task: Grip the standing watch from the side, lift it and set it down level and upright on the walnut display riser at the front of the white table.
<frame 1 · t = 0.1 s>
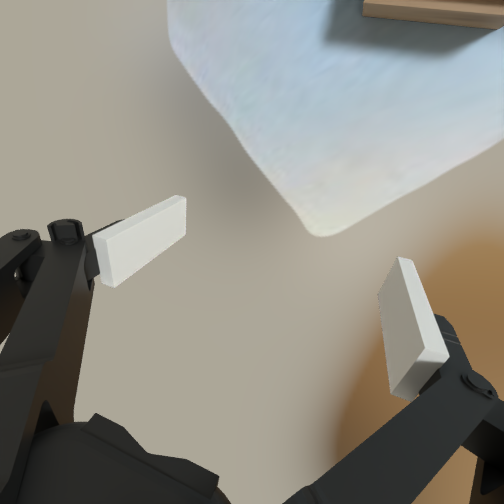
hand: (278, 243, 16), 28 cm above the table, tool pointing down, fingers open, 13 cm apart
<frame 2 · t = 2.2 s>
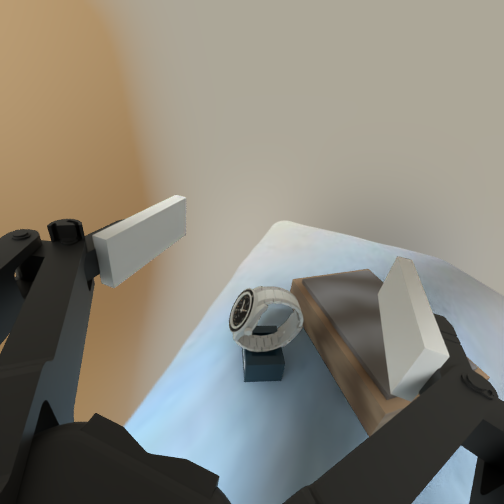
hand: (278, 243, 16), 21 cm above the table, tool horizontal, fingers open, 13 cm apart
riser: (363, 343, 36), on the table
watch: (259, 361, 33), on the table
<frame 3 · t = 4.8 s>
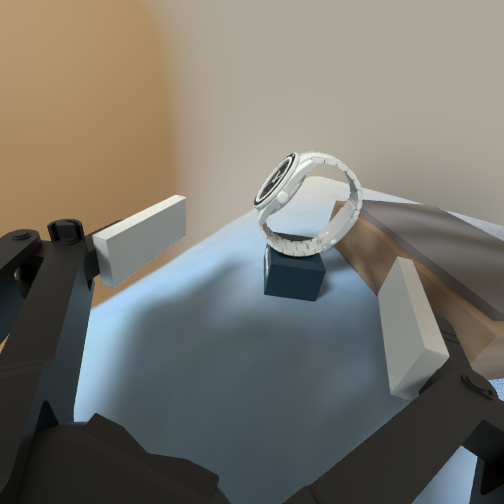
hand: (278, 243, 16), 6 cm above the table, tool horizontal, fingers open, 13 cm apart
riser: (427, 284, 27), on the table
watch: (285, 279, 24), on the table
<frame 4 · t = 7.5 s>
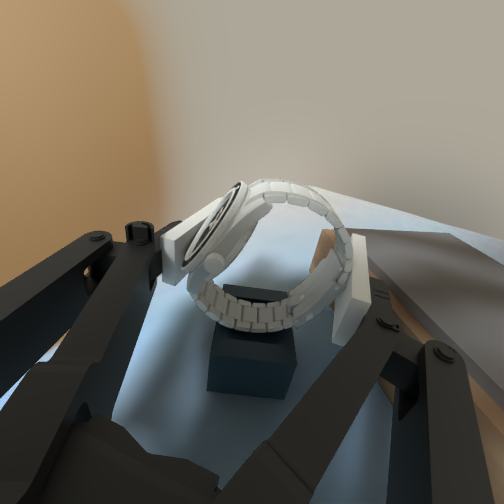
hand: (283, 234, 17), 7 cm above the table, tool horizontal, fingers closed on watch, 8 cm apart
riser: (444, 350, 19), on the table
watch: (245, 355, 17), on the table, touching gripper
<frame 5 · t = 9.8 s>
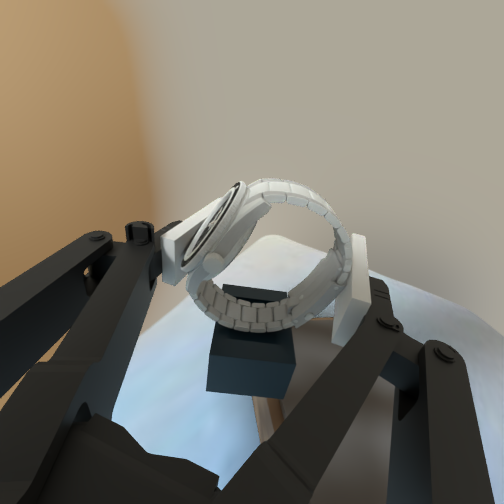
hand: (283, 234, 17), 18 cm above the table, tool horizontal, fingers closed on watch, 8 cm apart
riser: (333, 434, 24), on the table
watch: (245, 355, 17), point 11 cm above the table, touching gripper
when the fingers open (13 cm above the table, at t = 12.1 s): watch drops 1 cm, resting on riser.
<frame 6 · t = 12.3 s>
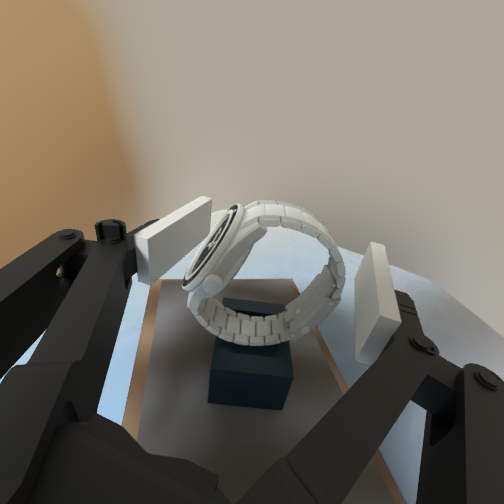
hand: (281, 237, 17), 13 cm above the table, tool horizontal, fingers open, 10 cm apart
riser: (234, 407, 20), on the table
watch: (245, 366, 17), point 5 cm above the table, touching riser
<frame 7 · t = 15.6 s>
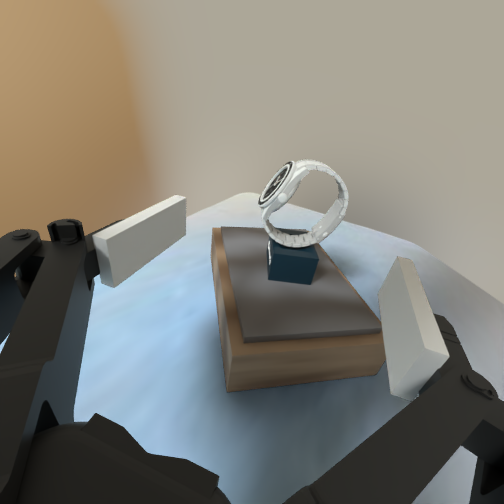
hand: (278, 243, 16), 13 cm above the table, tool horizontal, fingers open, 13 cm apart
riser: (275, 302, 31), on the table
watch: (285, 268, 28), point 5 cm above the table, touching riser
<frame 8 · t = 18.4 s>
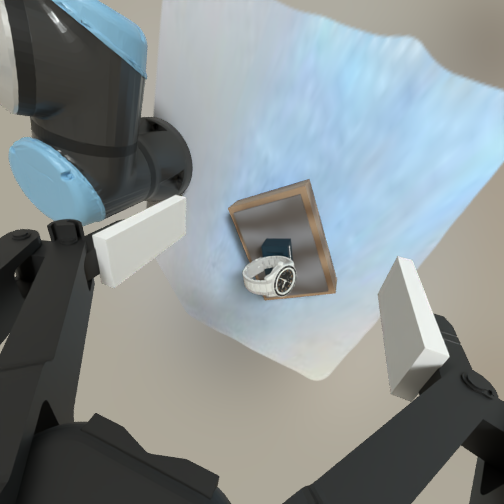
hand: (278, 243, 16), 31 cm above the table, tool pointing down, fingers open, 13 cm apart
riser: (287, 240, 50), on the table
watch: (280, 252, 46), point 5 cm above the table, touching riser
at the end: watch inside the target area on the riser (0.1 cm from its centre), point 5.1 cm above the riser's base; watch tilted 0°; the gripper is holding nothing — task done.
